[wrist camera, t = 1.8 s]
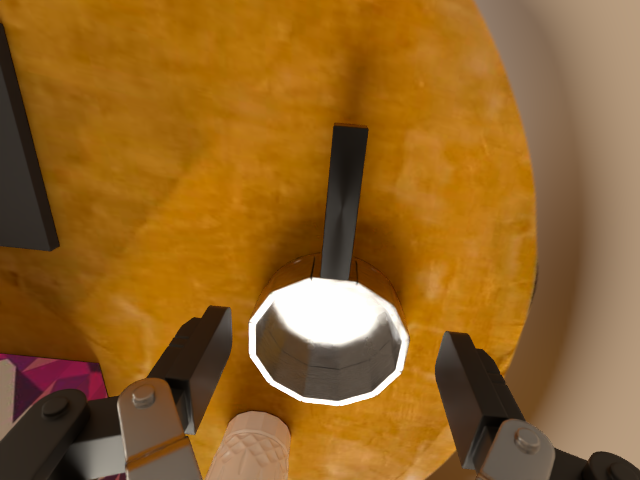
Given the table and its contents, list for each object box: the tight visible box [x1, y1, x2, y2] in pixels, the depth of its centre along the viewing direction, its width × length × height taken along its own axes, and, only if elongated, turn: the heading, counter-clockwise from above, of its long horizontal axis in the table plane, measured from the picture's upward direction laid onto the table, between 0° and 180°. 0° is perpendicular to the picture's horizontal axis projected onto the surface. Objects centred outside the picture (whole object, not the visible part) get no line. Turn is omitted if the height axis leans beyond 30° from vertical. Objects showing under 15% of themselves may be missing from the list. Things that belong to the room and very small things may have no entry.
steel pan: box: [248, 123, 410, 406], centre depth 26 cm, size 22×12×4 cm, turn 175°
